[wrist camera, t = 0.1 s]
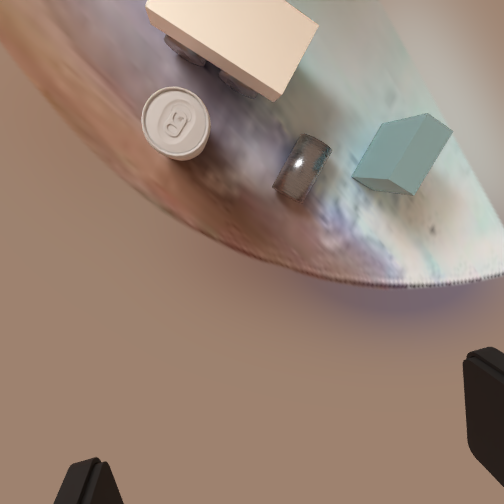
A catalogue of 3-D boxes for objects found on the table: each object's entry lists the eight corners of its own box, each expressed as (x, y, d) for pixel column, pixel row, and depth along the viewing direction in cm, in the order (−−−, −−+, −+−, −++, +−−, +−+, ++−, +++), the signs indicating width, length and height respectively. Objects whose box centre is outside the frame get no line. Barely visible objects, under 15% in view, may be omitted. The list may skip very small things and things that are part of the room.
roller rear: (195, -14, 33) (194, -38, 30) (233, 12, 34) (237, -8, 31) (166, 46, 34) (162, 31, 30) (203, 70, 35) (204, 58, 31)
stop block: (382, 123, 39) (427, 113, 31) (403, 138, 40) (453, 131, 32) (351, 176, 40) (388, 179, 32) (372, 190, 40) (414, 195, 33)
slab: (183, -47, 29) (182, -74, 26) (306, 40, 32) (319, 25, 29) (150, 24, 30) (144, 6, 27) (273, 102, 33) (281, 94, 29)
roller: (296, 135, 38) (306, 132, 35) (324, 152, 39) (337, 151, 35) (268, 185, 39) (276, 187, 35) (296, 201, 40) (306, 205, 36)
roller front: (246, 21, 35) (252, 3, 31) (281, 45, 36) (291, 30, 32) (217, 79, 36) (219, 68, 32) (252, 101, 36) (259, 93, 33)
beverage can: (215, 129, 37) (224, 112, 25) (190, 170, 37) (187, 172, 26) (174, 100, 35) (162, 68, 24) (148, 143, 36) (125, 131, 24)
